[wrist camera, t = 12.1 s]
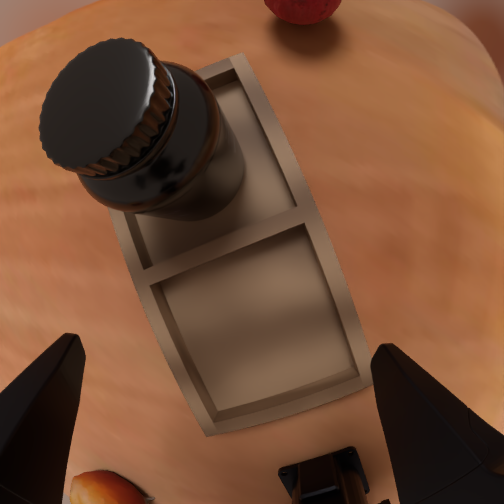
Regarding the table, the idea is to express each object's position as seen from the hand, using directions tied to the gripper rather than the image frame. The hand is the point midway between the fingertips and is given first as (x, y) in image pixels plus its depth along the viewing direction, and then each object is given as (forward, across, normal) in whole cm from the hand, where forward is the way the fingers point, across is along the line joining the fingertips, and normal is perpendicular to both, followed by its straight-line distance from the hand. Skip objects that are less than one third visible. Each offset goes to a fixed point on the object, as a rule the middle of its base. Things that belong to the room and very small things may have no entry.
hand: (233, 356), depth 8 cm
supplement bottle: (+14, +2, -1) cm, 14 cm away
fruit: (+2, +10, +27) cm, 28 cm away
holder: (+12, 0, +4) cm, 13 cm away
